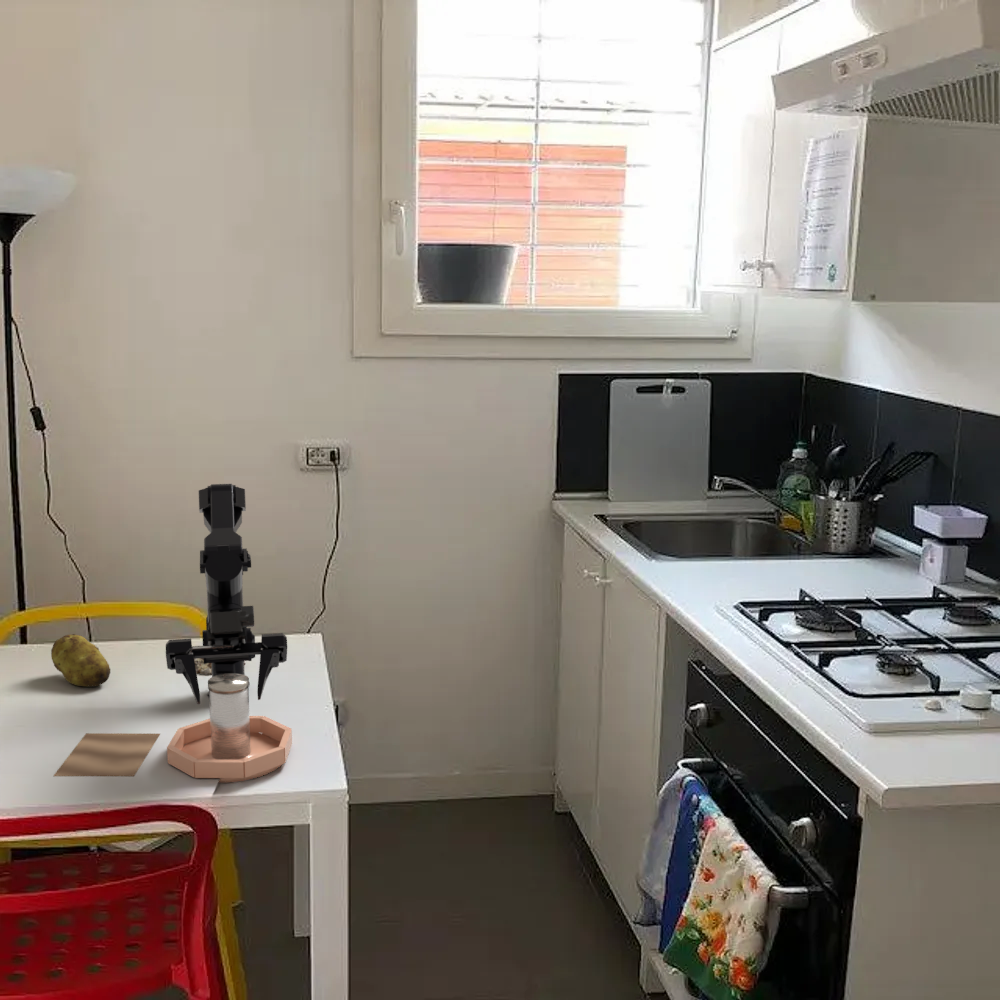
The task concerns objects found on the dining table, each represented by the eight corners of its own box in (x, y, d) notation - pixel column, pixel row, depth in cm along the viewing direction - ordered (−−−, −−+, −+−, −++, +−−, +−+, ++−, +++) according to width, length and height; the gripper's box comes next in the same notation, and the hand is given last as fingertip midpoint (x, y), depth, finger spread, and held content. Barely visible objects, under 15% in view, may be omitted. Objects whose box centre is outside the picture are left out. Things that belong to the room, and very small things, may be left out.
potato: (67, 696, 216) (65, 653, 215) (48, 674, 227) (45, 633, 225) (114, 687, 221) (112, 645, 219) (93, 666, 231) (90, 626, 230)
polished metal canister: (204, 751, 192) (201, 678, 189) (240, 741, 196) (237, 670, 193) (221, 764, 187) (218, 690, 185) (258, 754, 191) (255, 681, 188)
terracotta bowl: (186, 735, 200) (185, 715, 199) (297, 736, 201) (296, 716, 200) (159, 784, 183) (158, 762, 182) (280, 784, 183) (279, 762, 182)
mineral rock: (185, 666, 226) (188, 641, 233) (186, 685, 228) (189, 660, 235) (244, 665, 228) (246, 641, 235) (244, 684, 230) (246, 660, 237)
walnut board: (86, 737, 199) (86, 733, 199) (160, 738, 199) (160, 733, 199) (53, 780, 183) (53, 775, 183) (134, 781, 183) (133, 776, 183)
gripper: (163, 591, 189) (164, 683, 181) (285, 584, 194) (291, 675, 186) (167, 623, 199) (168, 713, 191) (283, 616, 203) (289, 704, 195)
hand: (229, 700), depth 190 cm, fingers open, 9 cm apart
